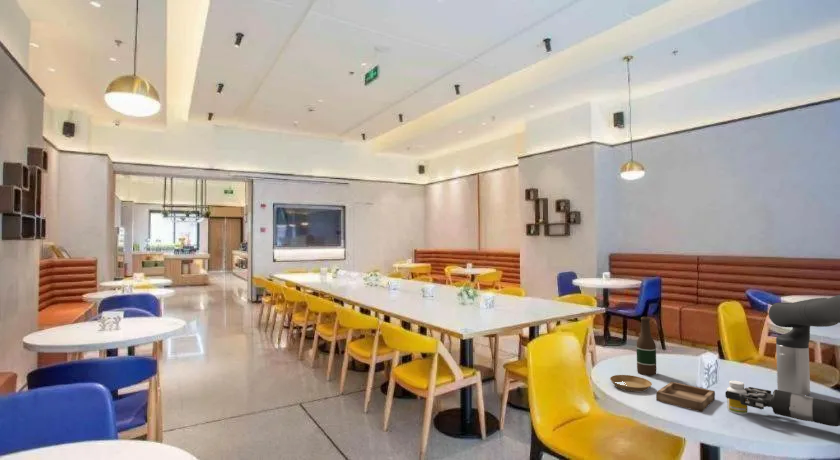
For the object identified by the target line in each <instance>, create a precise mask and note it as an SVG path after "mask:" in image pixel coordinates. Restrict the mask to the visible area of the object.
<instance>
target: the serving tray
mask: <svg viewBox="0 0 840 460" xmlns="http://www.w3.org/2000/svg"><path fill="white" fill-rule="evenodd" d="M715 394H716V393H715V390H711V389H707V388H702V387H697V386H693V385H688V384H684V383H679V382H676V381H675V382H674V381H670V382H669V383H667V384H666V385H664V386H663V387H661V388H660V389H658V390H656V393H655V395H656V397H655V398H656V401H657V402H660V403H661V402H662V403H664V404H668V405H673V406H677V407H681V408H685V409H689V410H692V411H697V412H700V413H702V412H703V411H705V409H707V408H708V407H709V406H710V405H711V404H712V403H713V402H714V401H715V399H716V395H715Z"/></svg>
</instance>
